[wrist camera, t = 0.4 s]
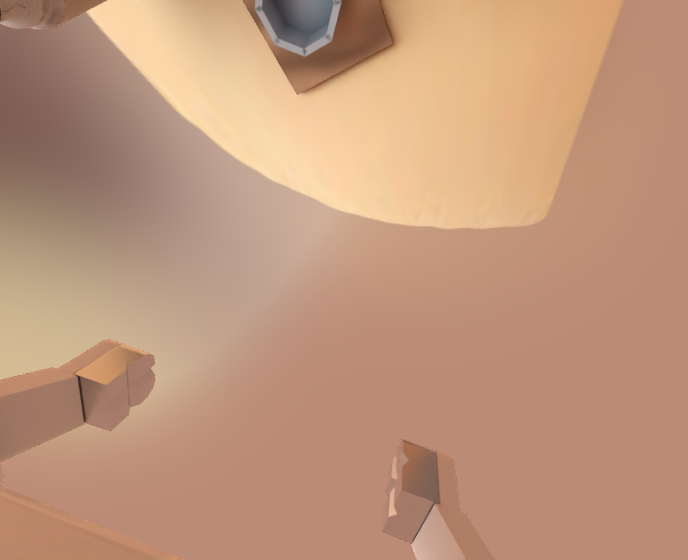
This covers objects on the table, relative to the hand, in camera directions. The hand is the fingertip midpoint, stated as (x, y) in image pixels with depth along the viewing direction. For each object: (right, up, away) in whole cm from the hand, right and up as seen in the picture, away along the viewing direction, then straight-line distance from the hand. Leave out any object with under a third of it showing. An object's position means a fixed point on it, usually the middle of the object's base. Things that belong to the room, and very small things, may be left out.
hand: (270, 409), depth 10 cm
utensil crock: (-3, +41, +32) cm, 52 cm away
